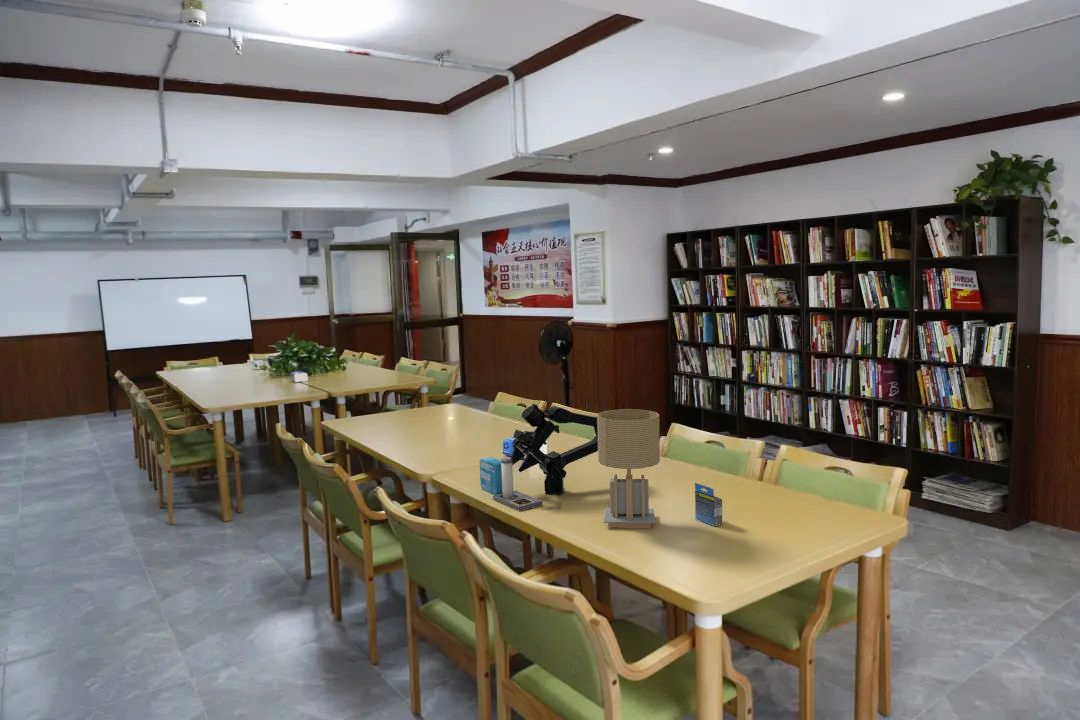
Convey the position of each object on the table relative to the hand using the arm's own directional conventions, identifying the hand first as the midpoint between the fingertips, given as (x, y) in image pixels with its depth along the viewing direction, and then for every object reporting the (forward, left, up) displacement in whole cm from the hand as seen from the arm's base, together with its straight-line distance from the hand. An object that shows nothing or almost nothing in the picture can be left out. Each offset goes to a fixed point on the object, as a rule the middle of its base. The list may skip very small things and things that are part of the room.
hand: (514, 468), depth 258 cm
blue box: (+10, -9, -12) cm, 18 cm away
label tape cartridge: (-67, +20, -12) cm, 71 cm away
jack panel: (-2, +4, -11) cm, 12 cm away
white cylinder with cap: (+2, +2, -11) cm, 12 cm away
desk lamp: (-42, +22, -12) cm, 49 cm away
